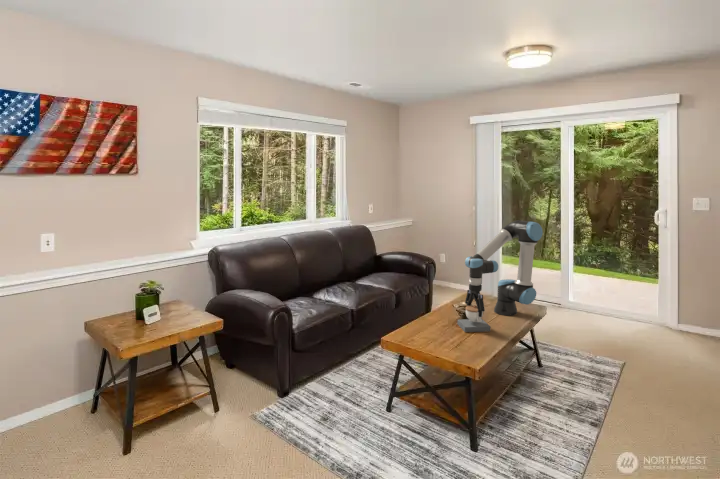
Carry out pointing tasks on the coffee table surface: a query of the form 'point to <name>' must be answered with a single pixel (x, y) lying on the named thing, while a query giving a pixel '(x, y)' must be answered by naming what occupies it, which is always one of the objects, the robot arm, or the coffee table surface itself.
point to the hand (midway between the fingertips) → (473, 318)
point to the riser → (473, 325)
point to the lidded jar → (472, 313)
